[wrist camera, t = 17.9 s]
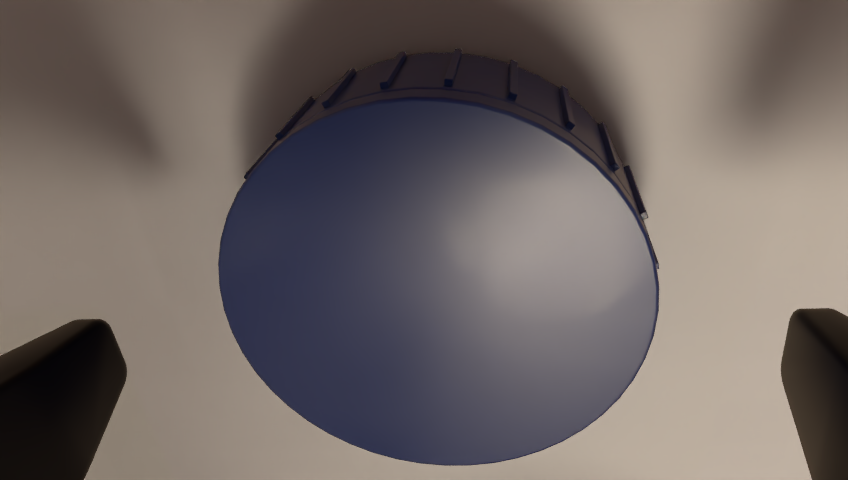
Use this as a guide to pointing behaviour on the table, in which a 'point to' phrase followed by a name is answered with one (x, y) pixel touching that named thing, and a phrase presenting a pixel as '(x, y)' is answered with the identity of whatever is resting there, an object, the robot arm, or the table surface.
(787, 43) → the table surface
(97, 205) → the table surface
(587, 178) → the lid
